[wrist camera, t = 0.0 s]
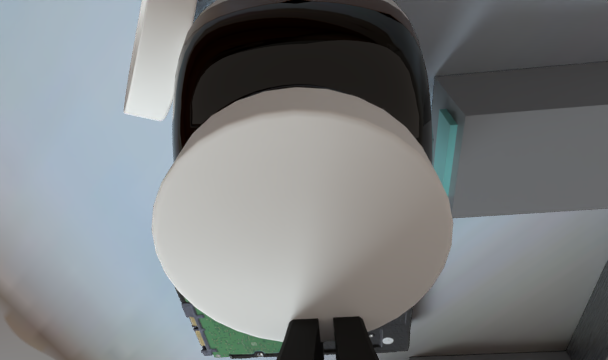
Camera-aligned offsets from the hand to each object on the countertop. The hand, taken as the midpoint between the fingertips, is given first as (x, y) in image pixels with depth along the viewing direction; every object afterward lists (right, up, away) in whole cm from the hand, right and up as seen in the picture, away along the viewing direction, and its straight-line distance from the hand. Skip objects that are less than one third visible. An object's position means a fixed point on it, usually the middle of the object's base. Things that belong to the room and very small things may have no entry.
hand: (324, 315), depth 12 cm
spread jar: (-2, +9, +7) cm, 12 cm away
